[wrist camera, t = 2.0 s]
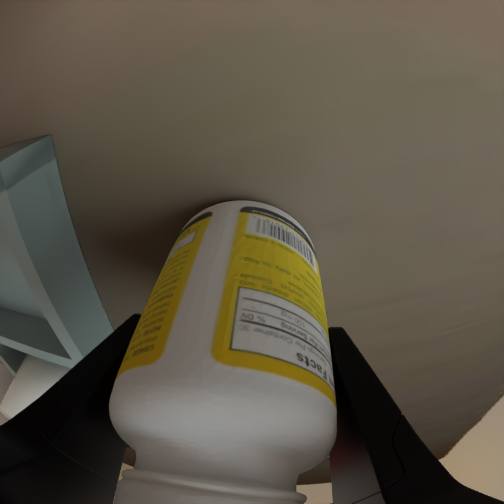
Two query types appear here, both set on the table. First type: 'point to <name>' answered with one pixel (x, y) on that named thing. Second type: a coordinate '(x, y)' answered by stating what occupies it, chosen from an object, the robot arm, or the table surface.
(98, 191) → the table surface
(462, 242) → the table surface
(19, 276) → the tray
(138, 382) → the supplement bottle
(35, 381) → the white pillar candle
